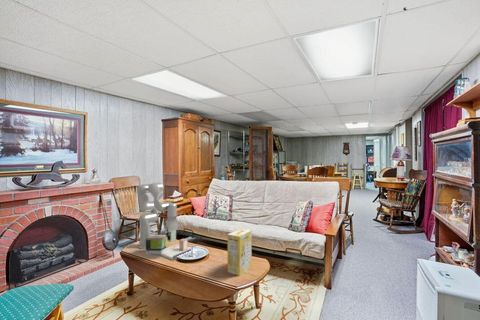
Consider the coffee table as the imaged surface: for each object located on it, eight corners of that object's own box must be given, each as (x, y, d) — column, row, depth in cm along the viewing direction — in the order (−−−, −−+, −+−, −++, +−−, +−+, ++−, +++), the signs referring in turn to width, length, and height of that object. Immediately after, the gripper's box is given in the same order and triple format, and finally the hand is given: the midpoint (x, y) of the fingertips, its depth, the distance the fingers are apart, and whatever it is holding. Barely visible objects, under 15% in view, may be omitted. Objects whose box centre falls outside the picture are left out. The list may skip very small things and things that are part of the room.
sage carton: (170, 242, 195) (171, 231, 195) (167, 241, 198) (167, 230, 198) (175, 240, 199) (175, 230, 199) (172, 239, 202) (172, 229, 202)
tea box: (166, 250, 212) (166, 234, 212) (161, 255, 202) (161, 238, 202) (150, 250, 213) (151, 234, 213) (145, 254, 203) (145, 237, 203)
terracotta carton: (179, 250, 208) (179, 240, 209) (183, 248, 213) (183, 238, 213) (183, 251, 206) (183, 241, 206) (187, 249, 210) (187, 239, 210)
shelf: (160, 255, 201) (160, 250, 201) (178, 248, 217) (178, 243, 217) (173, 260, 191) (173, 254, 191) (191, 252, 208) (191, 247, 208)
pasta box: (240, 263, 186) (240, 228, 187) (251, 266, 181) (251, 230, 181) (227, 272, 171) (227, 234, 171) (239, 275, 165) (239, 236, 166)
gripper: (176, 215, 208) (176, 235, 208) (160, 219, 194) (160, 240, 194) (182, 216, 204) (182, 237, 204) (166, 220, 190) (166, 242, 190)
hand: (171, 238), depth 199 cm, fingers closed on sage carton, 5 cm apart
